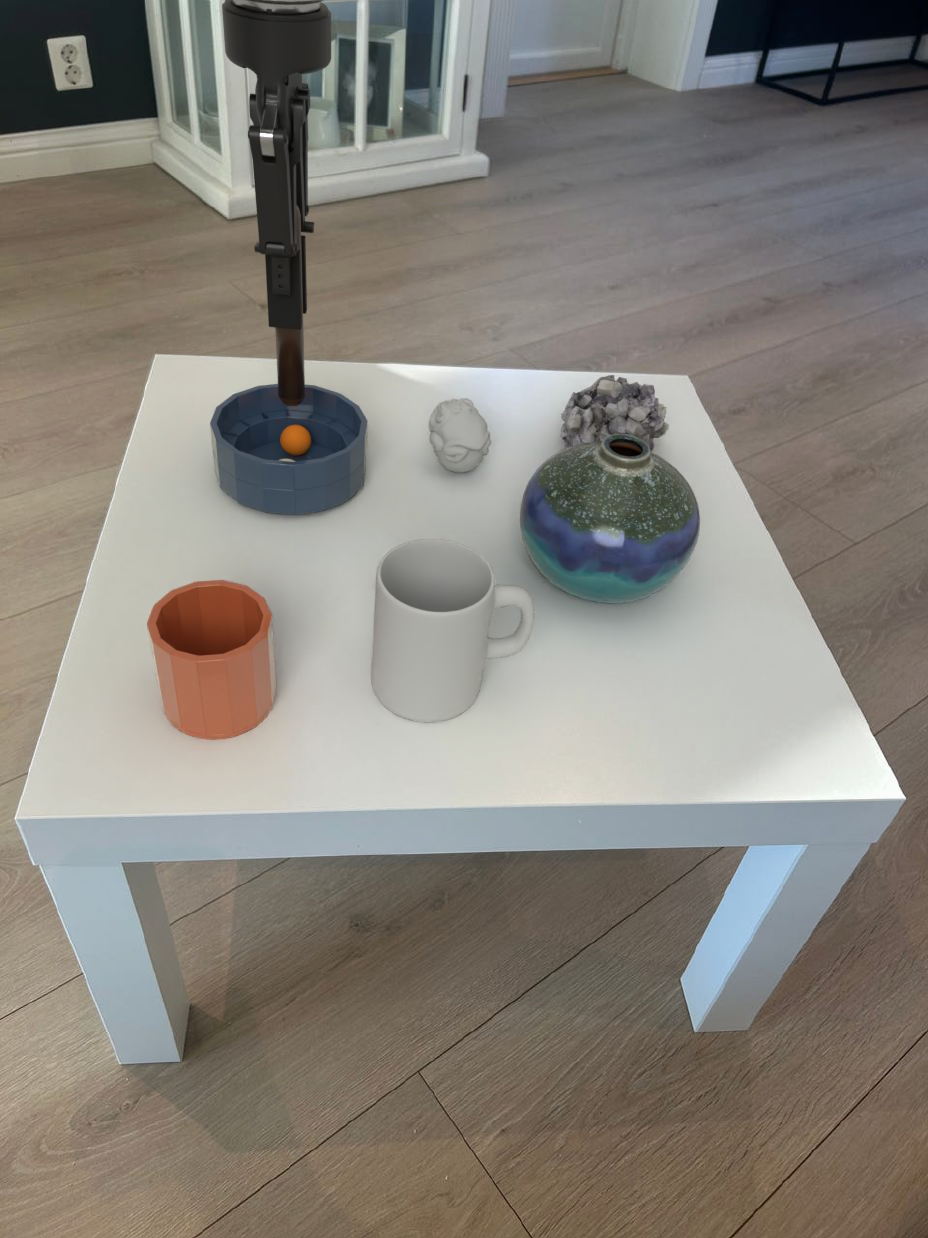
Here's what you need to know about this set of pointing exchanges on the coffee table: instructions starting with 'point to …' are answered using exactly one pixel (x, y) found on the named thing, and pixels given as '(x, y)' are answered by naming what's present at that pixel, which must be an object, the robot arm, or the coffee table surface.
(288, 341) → the stick
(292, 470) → the bowl
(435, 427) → the frog figurine
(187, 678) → the holder
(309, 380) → the coffee table surface
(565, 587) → the vase
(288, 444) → the ball
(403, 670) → the mug
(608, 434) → the mineral specimen
